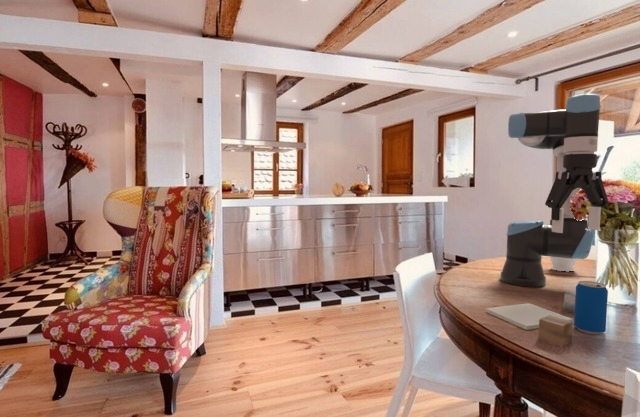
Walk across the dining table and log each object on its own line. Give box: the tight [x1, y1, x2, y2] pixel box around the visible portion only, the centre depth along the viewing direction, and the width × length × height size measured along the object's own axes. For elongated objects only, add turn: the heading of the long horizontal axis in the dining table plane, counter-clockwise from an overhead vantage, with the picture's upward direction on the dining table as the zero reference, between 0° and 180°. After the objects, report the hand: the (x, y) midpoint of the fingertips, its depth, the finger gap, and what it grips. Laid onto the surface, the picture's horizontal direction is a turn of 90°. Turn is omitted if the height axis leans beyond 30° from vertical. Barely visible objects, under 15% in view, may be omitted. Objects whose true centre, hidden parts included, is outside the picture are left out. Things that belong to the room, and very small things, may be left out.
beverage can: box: [573, 280, 609, 335], centre depth 93 cm, size 6×6×12 cm
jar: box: [549, 257, 578, 273], centre depth 160 cm, size 11×10×15 cm
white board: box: [485, 302, 574, 331], centre depth 103 cm, size 16×14×1 cm
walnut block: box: [537, 315, 574, 348], centre depth 87 cm, size 5×5×5 cm
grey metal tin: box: [562, 290, 576, 315], centre depth 108 cm, size 6×6×5 cm
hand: (575, 231), depth 103 cm, fingers open, 13 cm apart
